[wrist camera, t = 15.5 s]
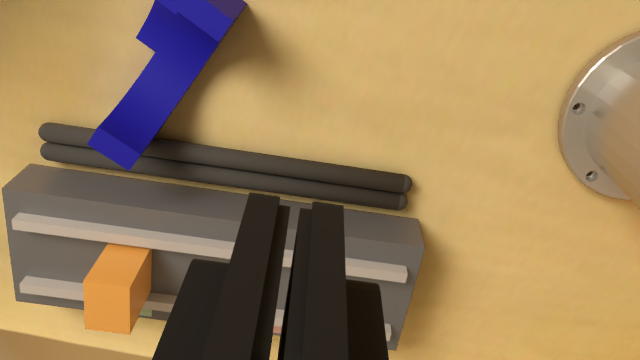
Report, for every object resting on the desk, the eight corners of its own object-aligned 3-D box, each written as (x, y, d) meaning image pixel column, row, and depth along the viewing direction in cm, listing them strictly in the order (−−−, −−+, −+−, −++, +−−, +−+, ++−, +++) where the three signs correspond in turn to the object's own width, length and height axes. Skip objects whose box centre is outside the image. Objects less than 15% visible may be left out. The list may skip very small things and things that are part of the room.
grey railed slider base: (417, 219, 43) (427, 255, 39) (391, 316, 48) (397, 359, 43) (30, 163, 42) (-7, 195, 37) (40, 270, 46) (9, 309, 42)
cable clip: (189, -42, 35) (163, -32, 30) (247, 3, 36) (233, 20, 31) (101, 99, 40) (65, 130, 34) (155, 135, 41) (128, 170, 35)
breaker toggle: (151, 245, 40) (129, 287, 36) (151, 289, 42) (130, 334, 37) (110, 239, 40) (82, 281, 35) (111, 283, 42) (85, 328, 37)
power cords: (412, 172, 41) (415, 181, 40) (404, 205, 43) (406, 214, 41) (43, 118, 40) (34, 125, 39) (46, 154, 41) (37, 162, 40)
